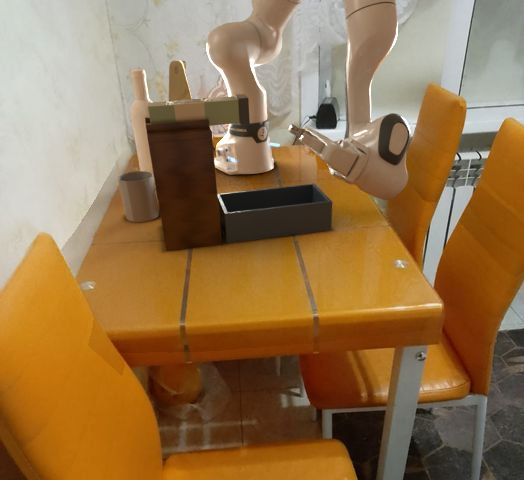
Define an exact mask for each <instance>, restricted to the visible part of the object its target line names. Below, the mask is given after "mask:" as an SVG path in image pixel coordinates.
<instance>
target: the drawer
mask: <svg viewBox="0 0 524 480" xmlns="http://www.w3.org/2000/svg"><path fill="white" fill-rule="evenodd" d="M147 104H148V111H149V117H150V123H160V122H172V121H184V120H196V119H209V125H210V126H212V127H213V126H222V125H223V126H225V125H227V124H235V123H240V124H250V119H249V98H248V97H247V96H246V95H245V94H238V95H235V96H229V95H228V96H217V97H207V98H203V99H189V100H176V101H169V100H165V101H152V102H151V103H147Z"/></svg>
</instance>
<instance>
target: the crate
mask: <svg viewBox="0 0 524 480" xmlns="http://www.w3.org/2000/svg"><path fill="white" fill-rule="evenodd" d="M217 195H218V205H219V216H220V227H221V232H222V234H223V237H224V238H225V241H226V243H227V244H230V243H239V242H246V241H254V240H263V239H271V238H279V237H280V238H281V237H286V236H287V237H288V236H295V235H303V234H311V233H320V232H328V231H329V232H330V231H332V220H333V200H331V198H330V197H328V195H327V194H325V192H324V191H323V190H322V189H321V188H320V187H319V186H318V185H317V184H316V183H315V182H313V183H305V184H296V185H286V186H279V187H278V186H277V187H270V188H268V187H267V188H259V189H249V190H240V191H232V192H222V193H221V192H220V193H217Z"/></svg>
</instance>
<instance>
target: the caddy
mask: <svg viewBox="0 0 524 480" xmlns="http://www.w3.org/2000/svg"><path fill="white" fill-rule="evenodd" d="M185 69H186V62H185V61H183V60H180V59H175V60H172V61H170V63H169V66H168V101H176V100H189V99H192V96H191V92H190V88H189V84H188V80H187V77H186V73H185Z"/></svg>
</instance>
